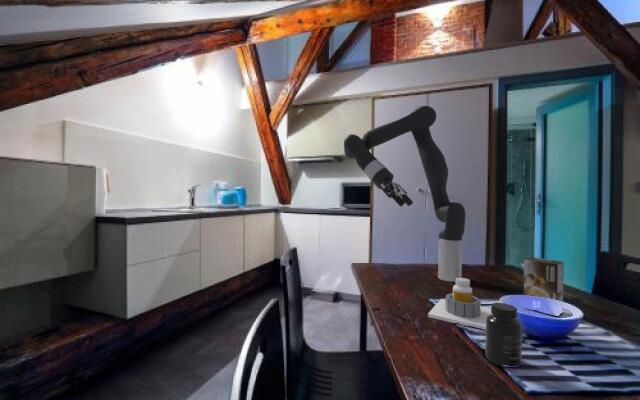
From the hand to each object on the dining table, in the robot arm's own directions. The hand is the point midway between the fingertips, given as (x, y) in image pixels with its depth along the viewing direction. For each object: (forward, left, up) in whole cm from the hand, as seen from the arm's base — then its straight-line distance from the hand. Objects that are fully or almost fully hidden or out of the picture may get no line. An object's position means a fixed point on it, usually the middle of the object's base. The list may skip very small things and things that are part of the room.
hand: (407, 204), depth 110 cm
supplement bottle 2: (+31, +33, -33) cm, 56 cm away
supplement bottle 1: (+9, +20, -32) cm, 39 cm away
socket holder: (+9, +21, -33) cm, 40 cm away
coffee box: (-10, +41, -33) cm, 53 cm away
